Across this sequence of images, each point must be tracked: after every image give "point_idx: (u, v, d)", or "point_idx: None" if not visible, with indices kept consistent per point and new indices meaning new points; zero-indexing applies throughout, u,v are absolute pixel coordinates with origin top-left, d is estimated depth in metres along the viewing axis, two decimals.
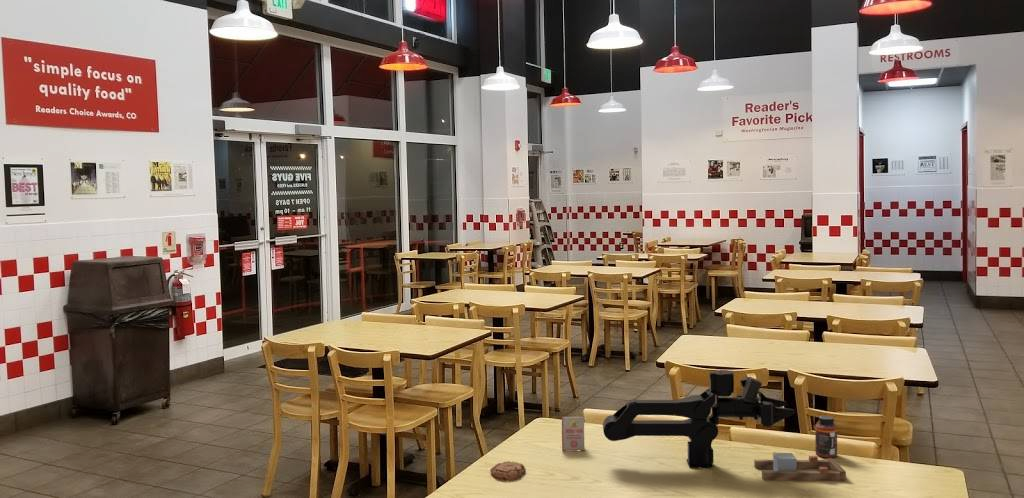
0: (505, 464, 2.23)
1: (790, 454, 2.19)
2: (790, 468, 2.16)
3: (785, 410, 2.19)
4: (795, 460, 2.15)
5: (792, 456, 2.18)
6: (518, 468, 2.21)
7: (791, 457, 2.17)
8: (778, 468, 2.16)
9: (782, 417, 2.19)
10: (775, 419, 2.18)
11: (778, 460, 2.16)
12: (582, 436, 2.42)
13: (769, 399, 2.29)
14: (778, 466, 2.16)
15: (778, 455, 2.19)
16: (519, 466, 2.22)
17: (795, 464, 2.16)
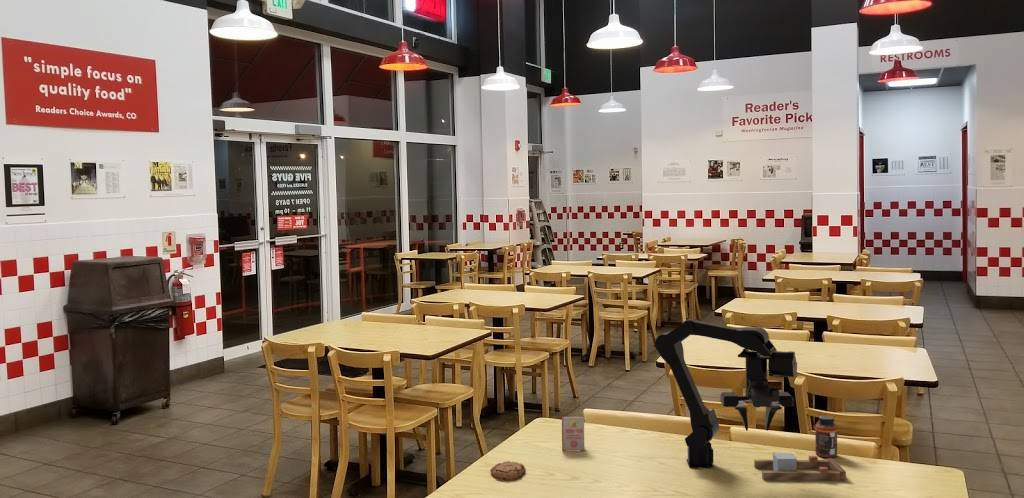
0: (505, 464, 2.23)
1: (790, 454, 2.19)
2: (790, 468, 2.16)
3: (743, 420, 2.18)
4: (795, 460, 2.16)
5: (792, 456, 2.18)
6: (518, 468, 2.21)
7: (791, 457, 2.17)
8: (778, 468, 2.16)
9: (741, 415, 2.20)
10: None
11: (778, 460, 2.16)
12: (582, 436, 2.42)
13: (768, 414, 2.17)
14: (778, 466, 2.16)
15: (778, 455, 2.19)
16: (519, 466, 2.22)
17: (795, 464, 2.16)
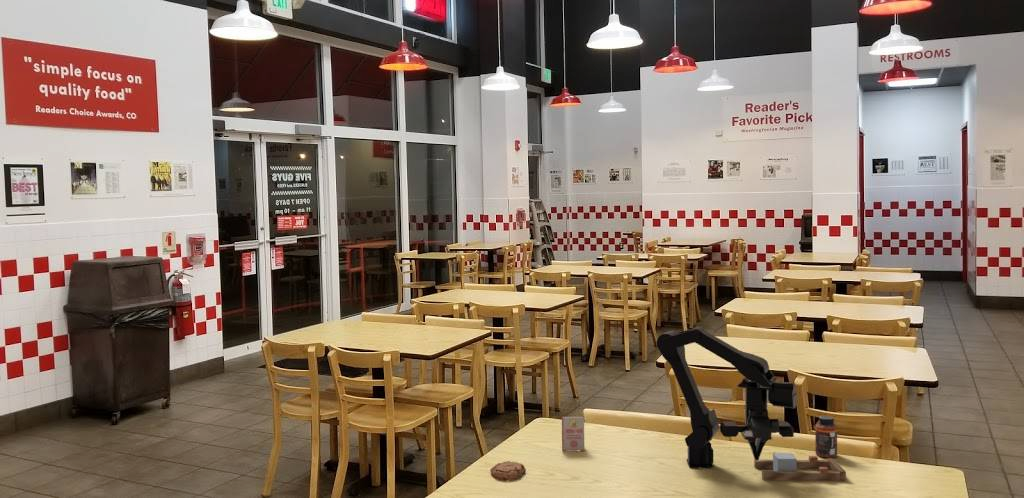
0: (505, 464, 2.23)
1: (790, 454, 2.19)
2: (790, 468, 2.16)
3: (752, 450, 2.18)
4: (795, 460, 2.16)
5: (792, 456, 2.18)
6: (518, 468, 2.21)
7: (791, 457, 2.17)
8: (778, 468, 2.16)
9: None
10: None
11: (778, 460, 2.16)
12: (582, 436, 2.42)
13: (758, 444, 2.18)
14: (778, 466, 2.16)
15: (778, 455, 2.19)
16: (519, 466, 2.22)
17: (795, 464, 2.16)
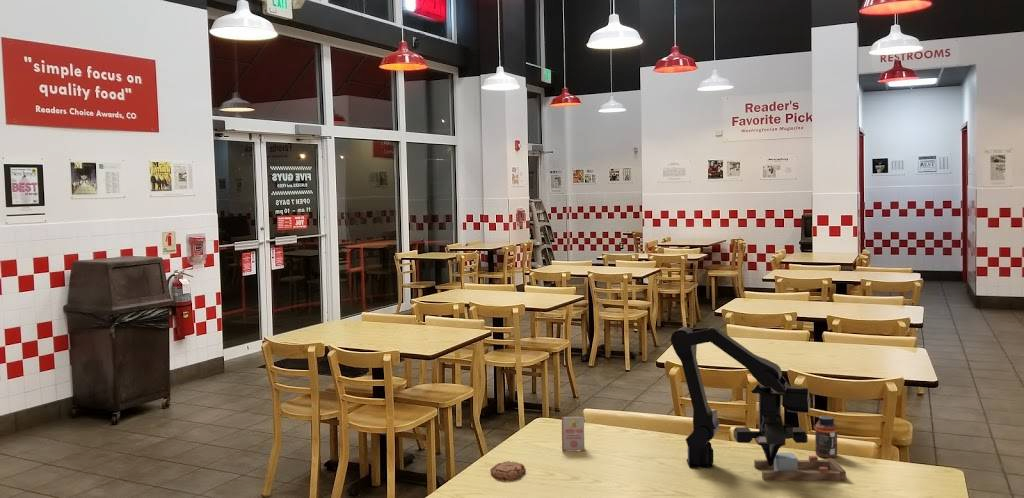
0: (505, 464, 2.23)
1: (791, 454, 2.19)
2: (791, 468, 2.16)
3: (766, 456, 2.18)
4: (796, 460, 2.15)
5: (793, 456, 2.18)
6: (518, 468, 2.21)
7: (792, 457, 2.17)
8: (779, 468, 2.16)
9: None
10: None
11: (779, 460, 2.16)
12: (582, 436, 2.42)
13: (772, 450, 2.17)
14: (779, 466, 2.16)
15: (779, 454, 2.19)
16: (519, 466, 2.22)
17: (796, 464, 2.16)
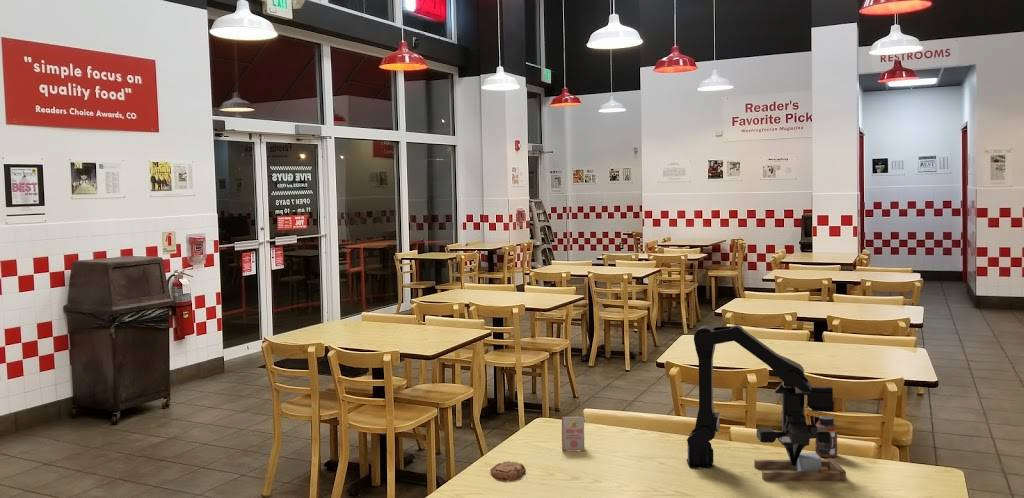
0: (505, 464, 2.23)
1: (814, 454, 2.19)
2: (815, 468, 2.15)
3: (789, 456, 2.17)
4: (820, 460, 2.15)
5: (817, 456, 2.17)
6: (518, 468, 2.21)
7: (816, 457, 2.16)
8: (803, 468, 2.15)
9: None
10: None
11: (803, 460, 2.15)
12: (582, 436, 2.42)
13: (796, 450, 2.17)
14: (803, 466, 2.15)
15: (803, 455, 2.18)
16: (519, 466, 2.22)
17: (820, 464, 2.15)
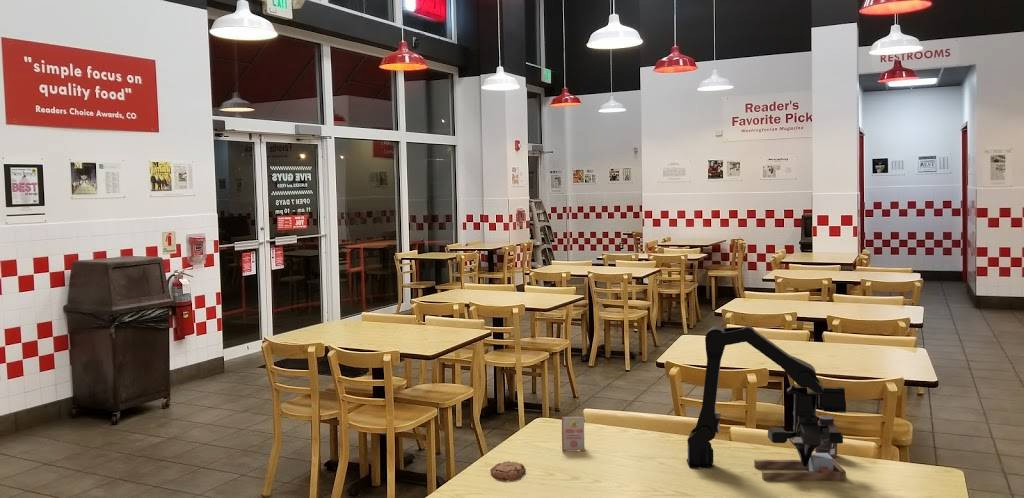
0: (505, 464, 2.23)
1: (826, 454, 2.18)
2: None
3: (801, 457, 2.17)
4: (832, 460, 2.15)
5: (828, 456, 2.17)
6: (518, 468, 2.21)
7: (828, 457, 2.16)
8: (815, 468, 2.15)
9: (798, 451, 2.19)
10: None
11: (815, 460, 2.15)
12: (582, 436, 2.42)
13: (807, 450, 2.17)
14: (815, 466, 2.15)
15: (814, 455, 2.18)
16: (519, 466, 2.22)
17: (832, 464, 2.15)
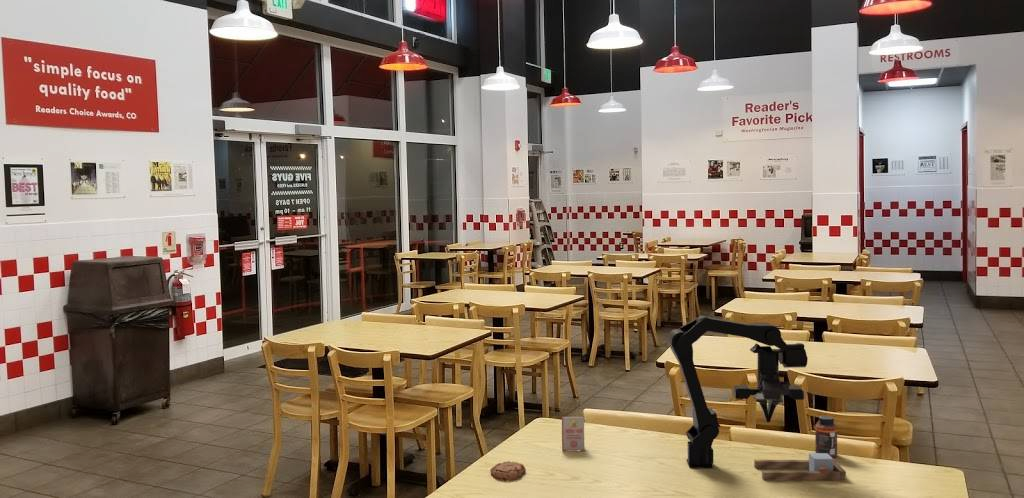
0: (505, 464, 2.23)
1: (826, 454, 2.18)
2: None
3: (763, 412, 2.26)
4: (832, 460, 2.15)
5: (828, 456, 2.17)
6: (518, 468, 2.21)
7: (828, 457, 2.16)
8: (815, 468, 2.15)
9: None
10: None
11: (815, 460, 2.15)
12: (582, 436, 2.42)
13: (770, 407, 2.25)
14: (815, 466, 2.15)
15: (814, 455, 2.18)
16: (519, 466, 2.22)
17: (832, 464, 2.15)
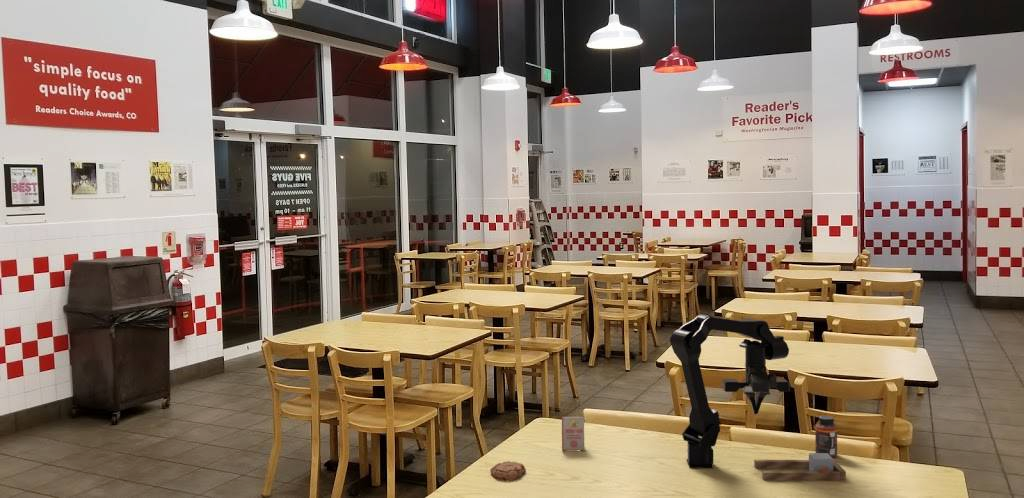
0: (505, 464, 2.23)
1: (826, 454, 2.19)
2: None
3: (751, 405, 2.34)
4: (832, 460, 2.15)
5: (828, 456, 2.17)
6: (518, 468, 2.21)
7: (828, 457, 2.16)
8: (815, 468, 2.15)
9: (749, 400, 2.36)
10: None
11: (815, 460, 2.15)
12: (582, 436, 2.42)
13: (758, 399, 2.34)
14: (815, 466, 2.15)
15: (814, 455, 2.18)
16: (519, 466, 2.22)
17: (832, 464, 2.15)
